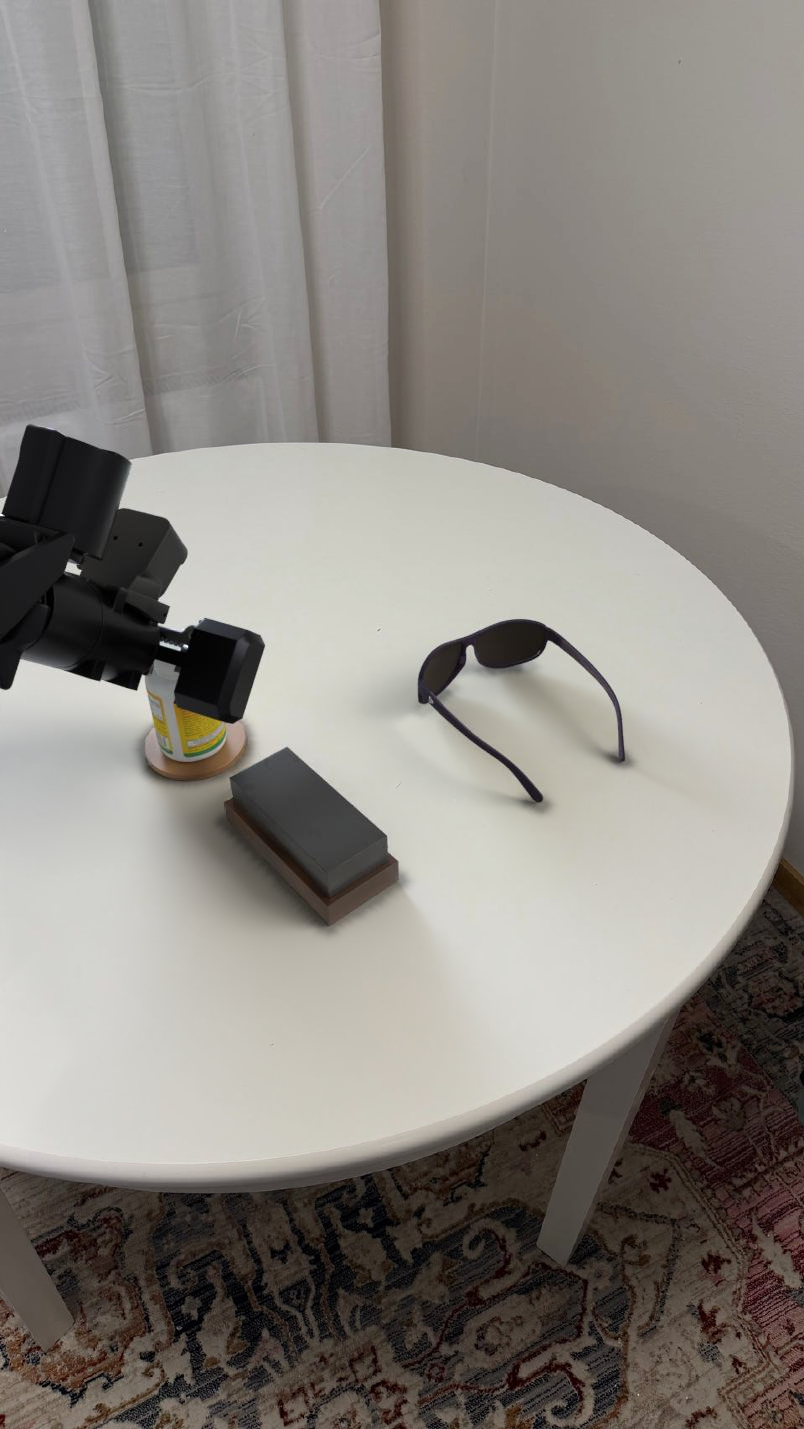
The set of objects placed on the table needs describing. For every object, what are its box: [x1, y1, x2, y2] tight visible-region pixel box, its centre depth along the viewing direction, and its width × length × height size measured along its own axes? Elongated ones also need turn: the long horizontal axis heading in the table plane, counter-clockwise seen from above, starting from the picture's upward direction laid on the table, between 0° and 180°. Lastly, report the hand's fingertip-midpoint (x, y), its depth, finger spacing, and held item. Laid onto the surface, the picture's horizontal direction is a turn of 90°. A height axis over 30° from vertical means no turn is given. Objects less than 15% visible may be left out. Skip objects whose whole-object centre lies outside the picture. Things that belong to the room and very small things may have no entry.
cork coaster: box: [143, 720, 248, 782], centre depth 80 cm, size 8×8×1 cm
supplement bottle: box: [144, 628, 227, 762], centre depth 77 cm, size 5×5×10 cm
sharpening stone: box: [223, 746, 400, 926], centre depth 70 cm, size 13×6×4 cm, turn 40°
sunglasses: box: [417, 618, 626, 804], centre depth 80 cm, size 14×16×5 cm
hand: (192, 664), depth 76 cm, fingers open, 6 cm apart
